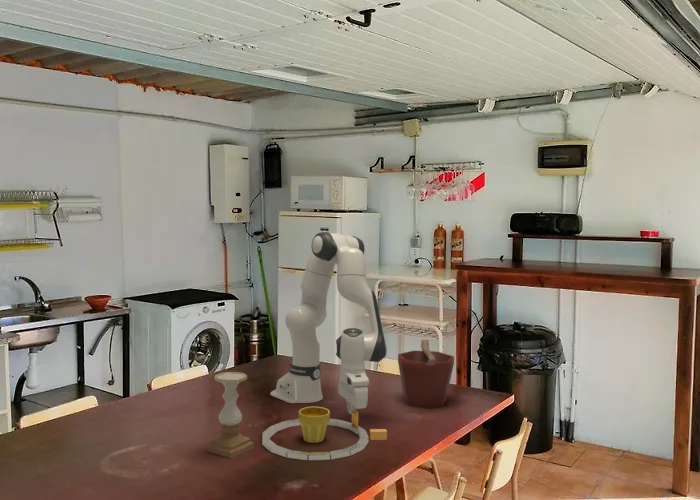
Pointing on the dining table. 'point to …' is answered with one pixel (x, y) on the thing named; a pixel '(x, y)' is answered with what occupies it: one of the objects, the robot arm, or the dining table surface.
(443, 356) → the bucket
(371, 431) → the pointer block
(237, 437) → the candle holder
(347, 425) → the ring
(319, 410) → the plant pot
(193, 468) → the dining table surface
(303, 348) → the robot arm
